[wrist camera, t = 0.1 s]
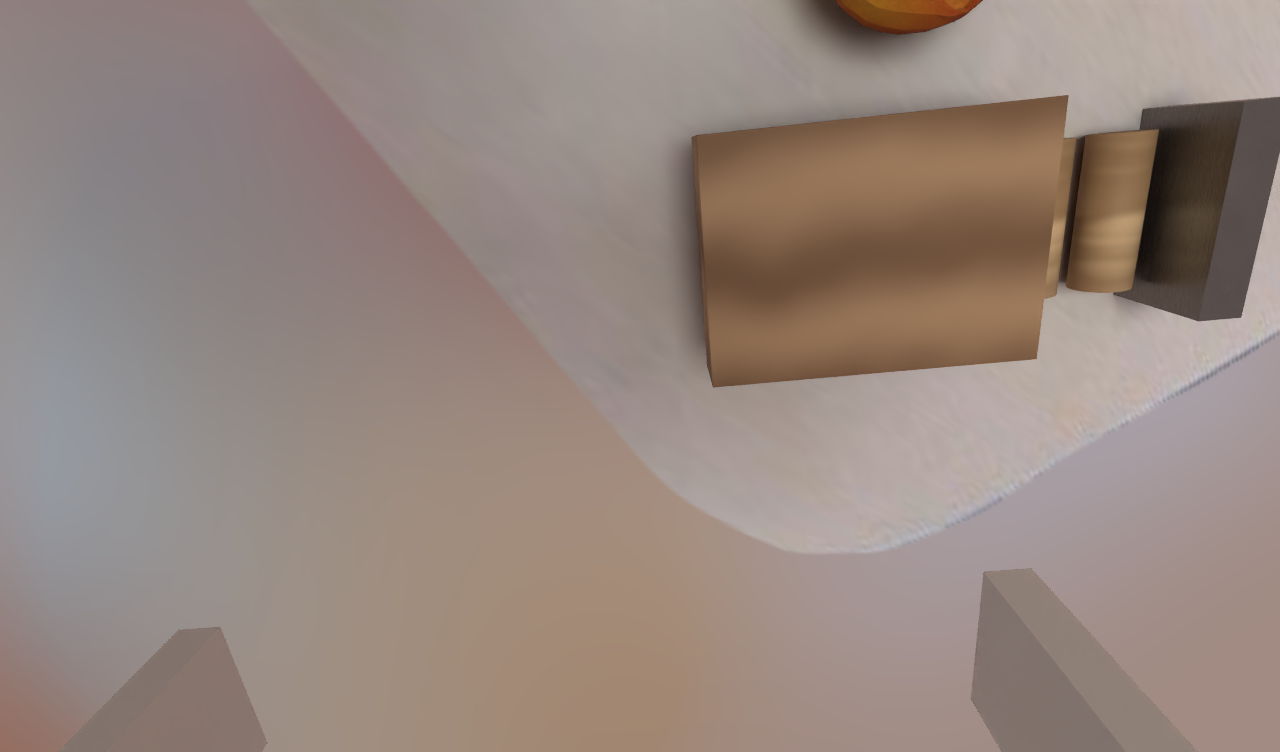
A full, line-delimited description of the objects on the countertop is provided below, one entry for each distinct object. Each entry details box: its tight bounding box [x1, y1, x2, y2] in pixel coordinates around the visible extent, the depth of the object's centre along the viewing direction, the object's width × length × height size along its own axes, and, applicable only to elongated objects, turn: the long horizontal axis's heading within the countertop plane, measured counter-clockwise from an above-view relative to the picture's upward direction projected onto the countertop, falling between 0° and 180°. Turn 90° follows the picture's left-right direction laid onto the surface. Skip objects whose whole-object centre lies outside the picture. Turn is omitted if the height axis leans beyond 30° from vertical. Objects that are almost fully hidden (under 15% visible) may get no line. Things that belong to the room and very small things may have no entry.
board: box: [692, 95, 1068, 387], centre depth 31 cm, size 12×16×4 cm
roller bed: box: [1044, 129, 1159, 299], centre depth 34 cm, size 8×23×3 cm, turn 96°
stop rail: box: [1114, 97, 1280, 321], centre depth 32 cm, size 10×2×6 cm, turn 6°
